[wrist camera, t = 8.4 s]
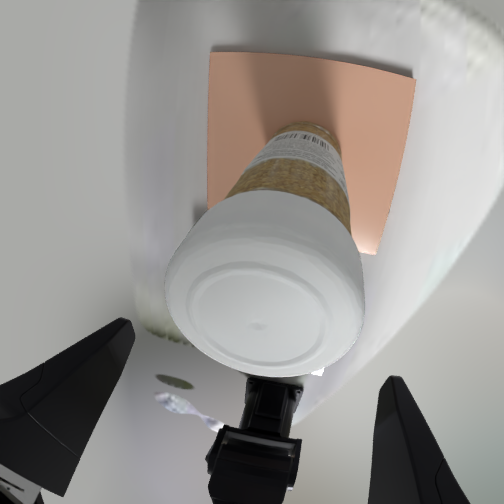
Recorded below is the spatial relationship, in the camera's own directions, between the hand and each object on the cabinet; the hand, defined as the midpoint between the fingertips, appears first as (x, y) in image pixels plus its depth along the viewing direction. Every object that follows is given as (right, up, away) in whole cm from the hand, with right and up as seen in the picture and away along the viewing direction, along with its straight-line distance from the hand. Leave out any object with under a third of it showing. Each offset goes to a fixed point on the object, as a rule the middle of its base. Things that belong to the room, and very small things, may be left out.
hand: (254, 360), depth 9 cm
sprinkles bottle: (+3, +9, +8) cm, 13 cm away
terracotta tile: (+3, +10, +8) cm, 13 cm away
